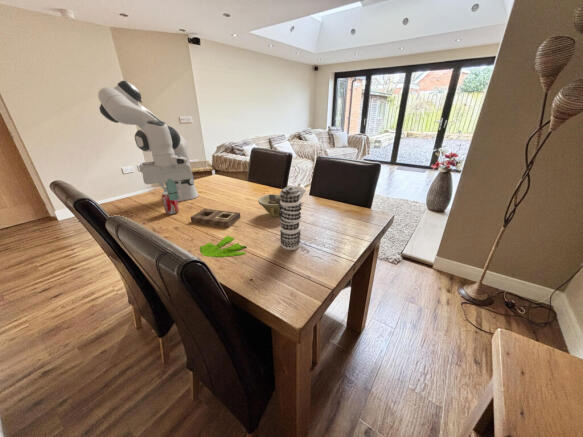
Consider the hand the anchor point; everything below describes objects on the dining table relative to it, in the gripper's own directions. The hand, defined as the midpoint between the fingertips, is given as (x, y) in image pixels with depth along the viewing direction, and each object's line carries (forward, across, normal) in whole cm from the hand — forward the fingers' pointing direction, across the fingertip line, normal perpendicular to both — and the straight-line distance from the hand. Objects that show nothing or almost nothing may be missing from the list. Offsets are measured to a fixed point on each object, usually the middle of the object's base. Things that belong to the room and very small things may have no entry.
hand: (172, 190), depth 109 cm
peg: (+4, 0, 0) cm, 4 cm away
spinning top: (+19, +70, +2) cm, 72 cm away
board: (+19, +18, -1) cm, 26 cm away
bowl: (+19, +48, -10) cm, 53 cm away
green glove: (+20, +16, -30) cm, 40 cm away
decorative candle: (+19, +40, -42) cm, 61 cm away
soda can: (+19, -2, +22) cm, 29 cm away
